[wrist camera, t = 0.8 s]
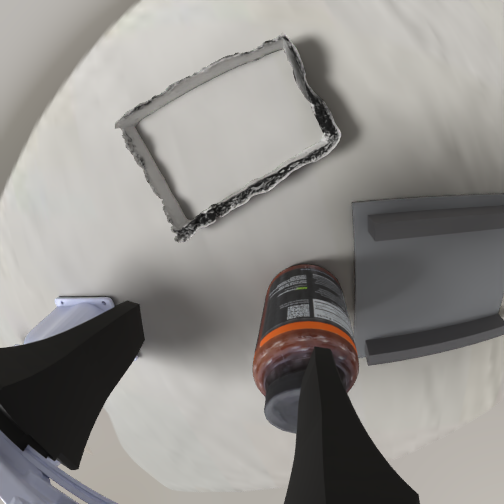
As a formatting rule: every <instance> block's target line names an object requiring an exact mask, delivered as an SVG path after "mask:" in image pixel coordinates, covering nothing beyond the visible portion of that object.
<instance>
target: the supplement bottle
mask: <svg viewBox="0 0 504 504" xmlns="http://www.w3.org/2000/svg"><path fill="white" fill-rule="evenodd" d="M314 346H316V347H322V348H328V349H331V351H332V354H333V357H334V360H335V363H336V366H337V369H338V372H339V374H340V377H341V380H342V382H343V385H344V387H345V390H346V392H347V393H348V391H349V390H350V389H351V388H352V386H353V385H354V383H355V381H356V379H357V375H358V372H359V361H358V354H357V350H356V345H355V341H354V336H353V332H352V328H351V324H350V320H349V316H348V312H347V308H346V304H345V300H344V296H343V293H342V290H341V287H340V285H339V283H338V281H337V279H336V278H335V277H334V276H333V275H332V274H331V273H330V272H329V271H327V270H325V269H323V268H322V267H319V266H316V265H307V264H302V265H296V266H292V267H289V268H287V269H285V270H283V271H282V272H280V273H279V274H278V275H277V276H276V277H275V278H274V279H273V281H272V282H271V284H270V286H269V288H268V291H267V295H266V298H265V303H264V309H263V315H262V319H261V325H260V330H259V335H258V340H257V344H256V349H255V356H254V361H253V377H254V380H255V383H256V385H257V387H258V389H259V390H260V391H261V393H262V394H263V395H264V396H265V397H266V401H265V408H264V413H265V416H266V419H267V420H268V421H269V422H270V423H271V424H272V425H273V426H275V427H277V428H279V429H281V430H283V431H286V432H291V433H296V434H297V418H298V402H299V396H300V390H301V384H302V379H303V376H304V374H305V371H306V368H307V366H308V363H309V360H310V357H311V355H312V352H313V349H314Z"/></svg>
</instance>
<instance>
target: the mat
mask: <svg viewBox="0 0 504 504" xmlns="http://www.w3.org/2000/svg"><path fill="white" fill-rule="evenodd" d="M352 212H353V229H354V254H355V318H354V341H355V345H356V350H357V354H358V358H363V357H366V359H367V363H368V366H370V365H377V364H383V363H390V362H396V361H401V360H407V359H412V358H417V357H422V356H427V355H432V354H436V353H441V352H445V351H449V350H453V349H457V348H461V347H465V346H468V345H472V344H475V343H479V342H482V341H486V340H489V339H492V338H495V337H498V336H501V335H504V320H503V319H502V318H501V317H500V315H499V314H498V312H499V309H500V306H501V302H502V298H503V294H504V194H473V195H449V196H431V197H414V198H399V199H386V200H373V201H361V202H352Z"/></svg>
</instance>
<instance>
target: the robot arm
mask: <svg viewBox="0 0 504 504" xmlns="http://www.w3.org/2000/svg"><path fill="white" fill-rule="evenodd" d="M55 303H56V305H57V308H56V309H54V310H53V311H52V312H51V313H50V314H49V315H48V316H46V317H45V318H44V319H43V320H42V321H41V322H40V323H39V324H38V325H37V326H35V327H34V328H33V329H32V330H31V331H30V332H29V333H28V335H27V336H26V338H25V341H24V344H23V345H18V344H15V345H14V346H13V347H6V348H0V498H1V499H2V501H3V502H4V503H5V504H79V503H77V502H76V501H74V500H73V499H71V498H70V497H68V496H67V495H65V494H63V493H62V492H61V491H59V490H58V489H56V488H55V487H54V486H52V485H51V484H50V479H49V478H51V479H52V480H53V481H55V482H56V483H58V484H59V485H60V486H62V487H64V488H65V489H66V490H68V491H69V492H71V493H72V494H74V495H75V496H77V497H78V498H80V499H82V500H83V501H85V502H87V503H88V504H118V503H116V502H114V501H112V500H110V499H108V498H106V497H104V496H103V495H101V494H99V493H97V492H95V491H94V490H92V489H90V488H89V487H87V486H85V485H83V484H82V483H80V482H79V481H77V480H75V479H74V478H73V477H71V476H70V475H68V474H67V473H65V472H64V471H62V470H61V469H59V468H58V467H57V466H58V465H59V464H60V463H61V464H63V465H64V466H66V467H67V468H69V469H70V470H76V469H79V465H80V461H81V458H82V455H83V452H84V448H85V446H86V443H87V440H88V438H89V435H90V432H91V430H92V428H93V426H94V424H95V421H96V419H97V417H98V415H99V413H100V411H101V409H102V407H103V405H104V403H105V401H106V400H107V398H108V397H109V395H110V393H111V392H112V391H113V389H114V388H115V386H116V385H117V383H118V382H119V381H120V379H121V378H122V376H123V375H124V374H125V372H126V371H127V369H128V368H129V366H130V365H131V364H132V362H133V361H136V360H137V359H138V356H137V354H138V352H139V350H140V348H141V346H142V344H143V342H144V340H145V338H144V332H143V326H142V320H141V313H140V306H139V304H137V303H134V302H130V301H126V302H123V303H121V304H119V305H117V306H114V303H113V301H112V299H111V298H109V297H76V298H56V299H55ZM284 504H420V501H419V495H418V494H417V493H416V492H415V491H414V490H413V489H412V488H411V487H410V486H409V485H408V484H407V483H406V482H405V481H404V480H403V479H402V478H401V477H400V476H399V475H398V474H397V473H396V472H395V470H393V468H392V467H391V466H390V465H389V463H388V462H387V461H386V459H385V458H384V457H383V455H382V454H381V453H380V451H379V450H378V449H377V447H376V446H375V444H374V443H373V441H372V440H371V438H370V437H369V435H368V433H367V432H366V430H365V428H364V427H363V425H362V423H361V421H360V419H359V418H358V416H357V414H356V412H355V410H354V408H353V406H352V403H351V401H350V399H349V397H348V394H347V392H346V390H345V387H344V385H343V382H342V380H341V377H340V374H339V372H338V369H337V366H336V363H335V360H334V357H333V354H332V351H331V349H328V348H322V347H316V346H314V349H313V352H312V355H311V357H310V360H309V363H308V366H307V368H306V371H305V374H304V376H303V379H302V384H301V390H300V396H299V402H298V418H297V434H296V448H295V456H294V462H293V467H292V472H291V477H290V481H289V485H288V489H287V494H286V497H285V502H284Z"/></svg>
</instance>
